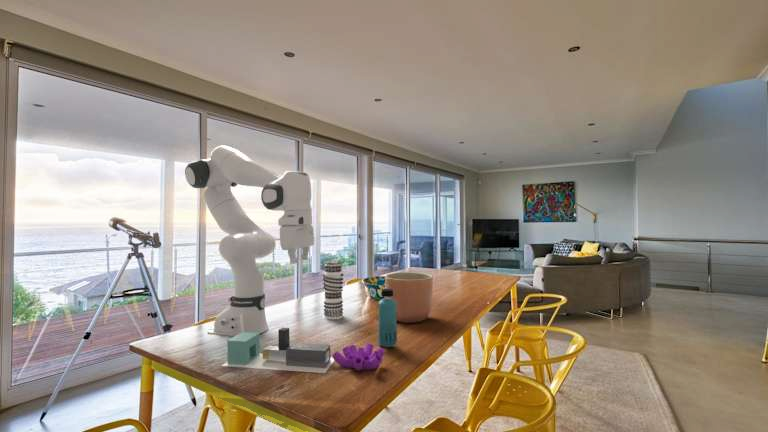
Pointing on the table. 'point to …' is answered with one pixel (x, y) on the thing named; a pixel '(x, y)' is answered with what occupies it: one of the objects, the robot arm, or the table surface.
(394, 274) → the planter
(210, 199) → the robot arm
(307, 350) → the outer sleeve
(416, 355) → the table surface
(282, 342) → the sliding bolt
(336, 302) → the decorative candle
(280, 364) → the mounting board
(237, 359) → the socket block
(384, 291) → the beverage bottle
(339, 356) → the purple coral
